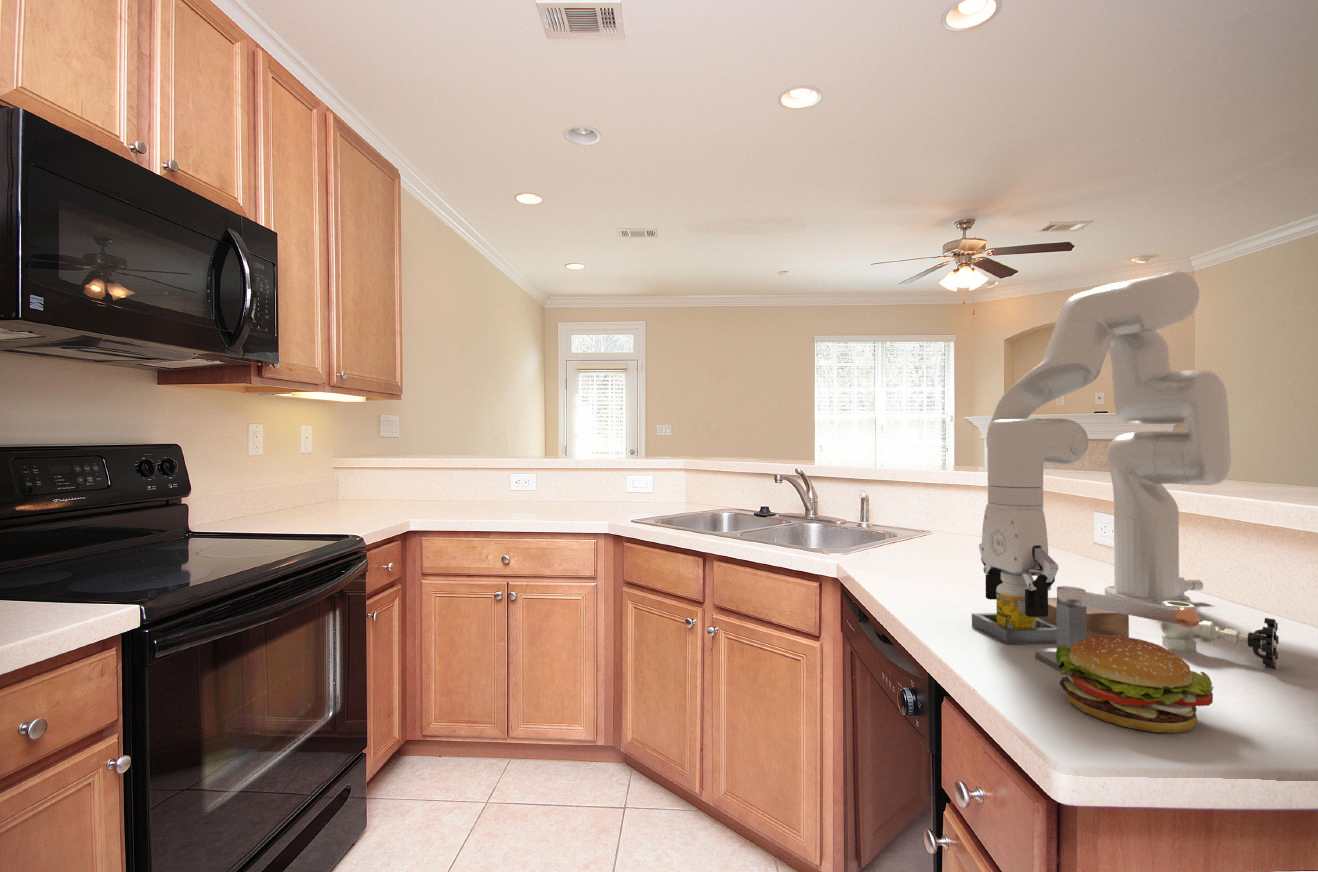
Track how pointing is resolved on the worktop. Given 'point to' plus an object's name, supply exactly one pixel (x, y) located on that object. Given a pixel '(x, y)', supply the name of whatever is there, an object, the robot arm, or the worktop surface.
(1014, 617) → the supplement bottle
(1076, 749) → the worktop surface
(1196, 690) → the food
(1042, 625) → the shallow grey tray
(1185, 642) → the valve
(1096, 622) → the walnut block
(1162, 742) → the worktop surface
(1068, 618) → the grey upright pillar
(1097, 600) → the handle
